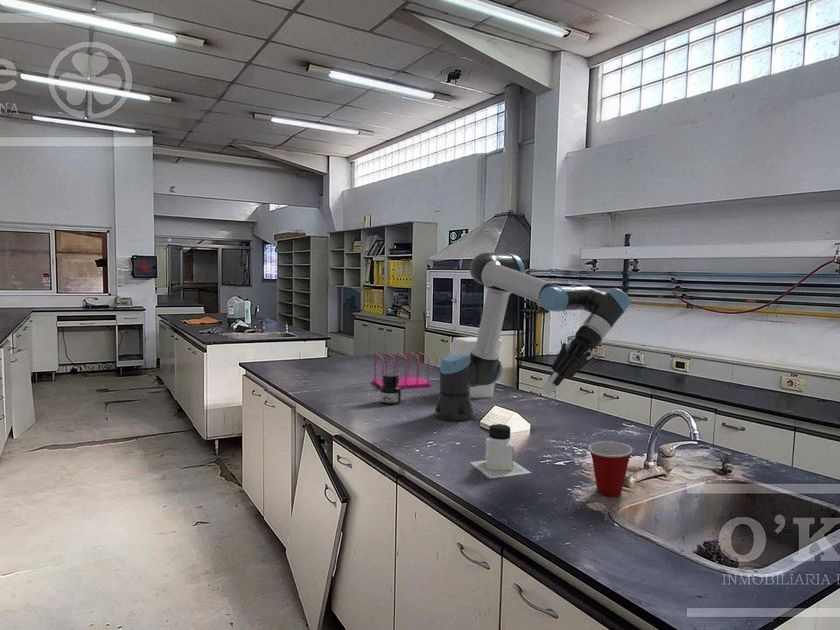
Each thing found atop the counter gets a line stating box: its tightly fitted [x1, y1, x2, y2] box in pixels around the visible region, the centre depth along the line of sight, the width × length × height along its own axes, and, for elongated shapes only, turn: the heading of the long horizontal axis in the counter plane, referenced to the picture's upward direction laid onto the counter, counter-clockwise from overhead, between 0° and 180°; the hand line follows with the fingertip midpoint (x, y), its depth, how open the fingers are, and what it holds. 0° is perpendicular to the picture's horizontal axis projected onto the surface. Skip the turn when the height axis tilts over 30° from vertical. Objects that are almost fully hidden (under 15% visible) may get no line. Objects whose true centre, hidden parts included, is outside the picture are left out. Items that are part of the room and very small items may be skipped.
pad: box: [469, 459, 532, 480], centre depth 154 cm, size 13×13×1 cm
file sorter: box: [372, 351, 432, 389], centre depth 265 cm, size 17×25×16 cm
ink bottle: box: [379, 373, 402, 405], centre depth 228 cm, size 10×9×12 cm
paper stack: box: [448, 336, 503, 399], centre depth 246 cm, size 21×27×26 cm
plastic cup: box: [587, 441, 634, 497], centre depth 137 cm, size 11×11×12 cm
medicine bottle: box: [485, 423, 514, 470], centre depth 154 cm, size 7×7×12 cm
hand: (545, 391), depth 162 cm, fingers closed
